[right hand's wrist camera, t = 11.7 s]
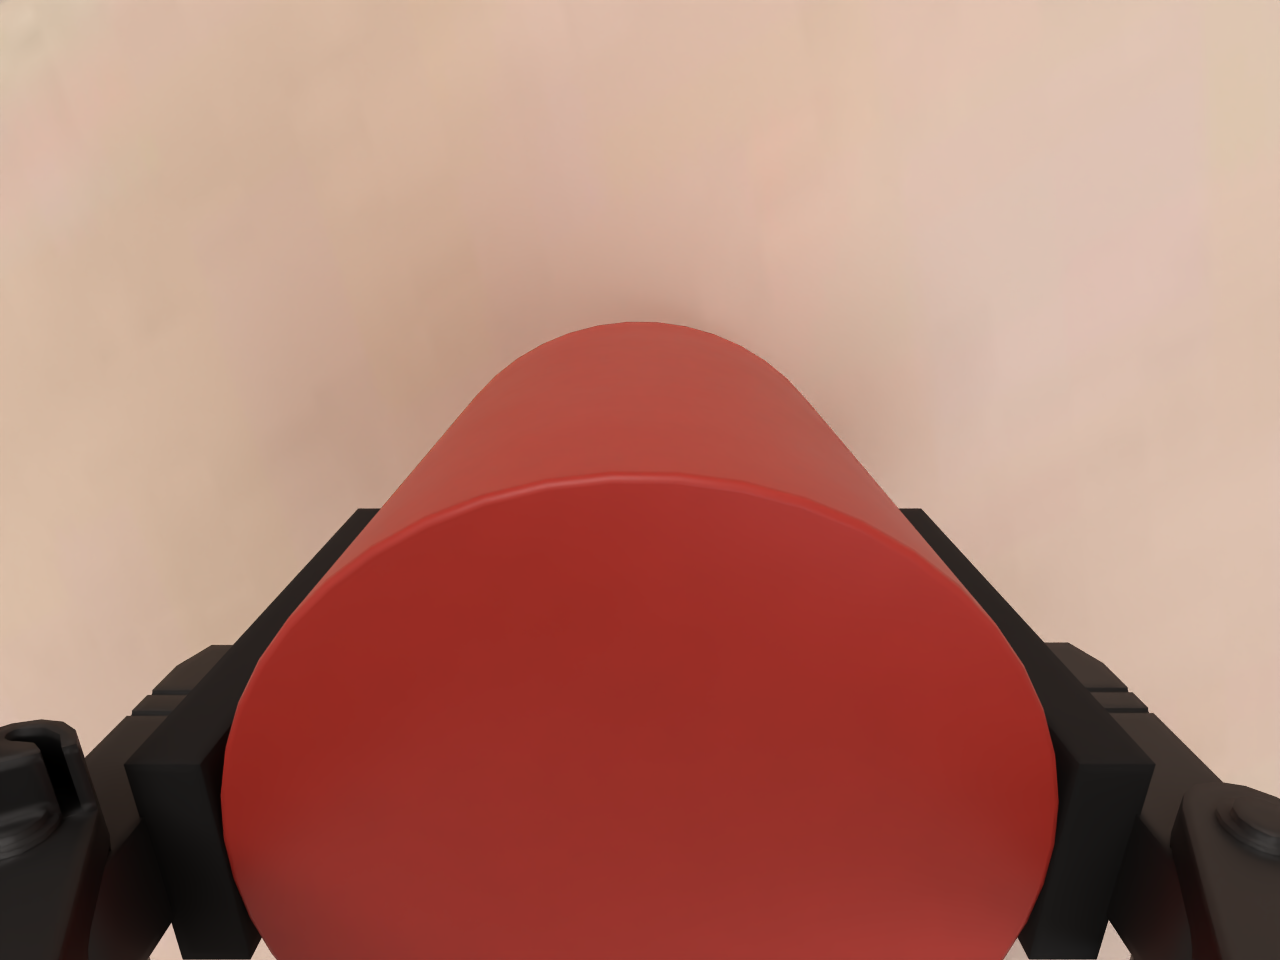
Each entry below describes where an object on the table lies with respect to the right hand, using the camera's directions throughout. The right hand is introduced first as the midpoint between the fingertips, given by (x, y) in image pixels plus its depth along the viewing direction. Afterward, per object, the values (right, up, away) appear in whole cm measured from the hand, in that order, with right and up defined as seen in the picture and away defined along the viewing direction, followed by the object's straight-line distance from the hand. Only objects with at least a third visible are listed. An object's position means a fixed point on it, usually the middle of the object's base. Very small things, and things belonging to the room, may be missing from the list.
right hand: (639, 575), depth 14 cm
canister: (0, +1, +2) cm, 2 cm away
